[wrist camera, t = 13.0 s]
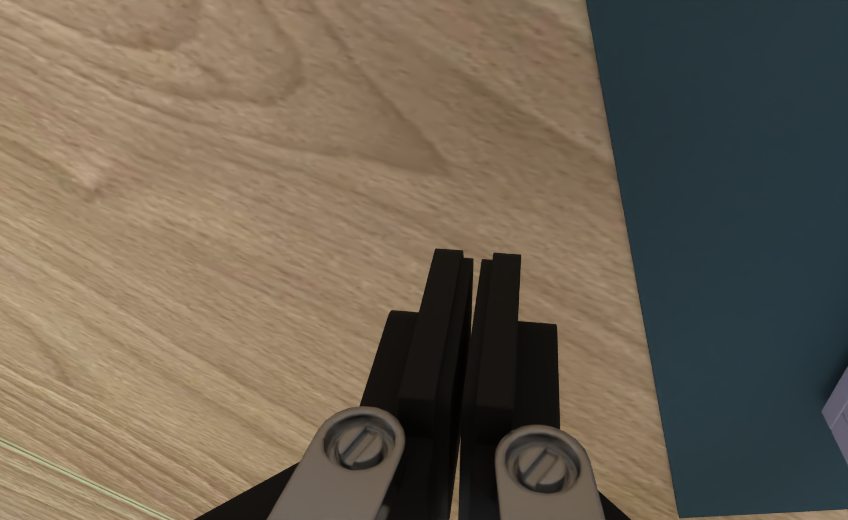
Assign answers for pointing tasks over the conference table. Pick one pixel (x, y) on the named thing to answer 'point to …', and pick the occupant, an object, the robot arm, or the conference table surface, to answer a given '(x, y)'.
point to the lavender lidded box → (839, 414)
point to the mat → (737, 236)
